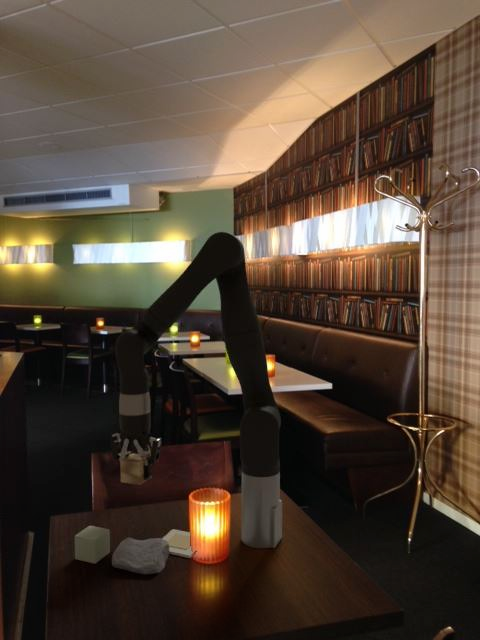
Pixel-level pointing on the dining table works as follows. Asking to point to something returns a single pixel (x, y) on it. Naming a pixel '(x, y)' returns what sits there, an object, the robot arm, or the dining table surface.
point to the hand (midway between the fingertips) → (136, 477)
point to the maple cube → (132, 469)
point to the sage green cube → (92, 544)
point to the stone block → (141, 555)
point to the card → (179, 543)
